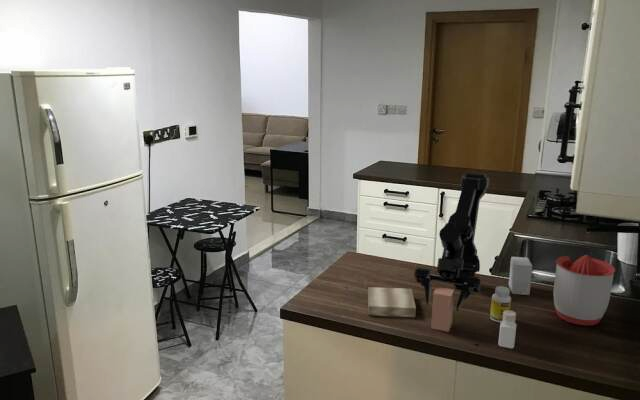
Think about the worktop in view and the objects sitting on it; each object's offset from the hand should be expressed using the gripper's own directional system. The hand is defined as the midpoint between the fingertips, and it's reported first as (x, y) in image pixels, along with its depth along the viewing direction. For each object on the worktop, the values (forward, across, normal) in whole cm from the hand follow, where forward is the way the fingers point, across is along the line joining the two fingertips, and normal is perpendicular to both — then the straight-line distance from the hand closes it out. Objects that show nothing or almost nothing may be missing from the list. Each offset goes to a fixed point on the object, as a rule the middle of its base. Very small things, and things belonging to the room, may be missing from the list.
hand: (442, 307), depth 147 cm
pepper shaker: (+6, +18, +4) cm, 19 cm away
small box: (-22, +19, +32) cm, 43 cm away
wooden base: (-1, -17, +10) cm, 20 cm away
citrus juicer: (-13, +36, +23) cm, 45 cm away
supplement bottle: (-4, +15, +14) cm, 21 cm away
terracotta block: (+4, 0, +6) cm, 7 cm away
